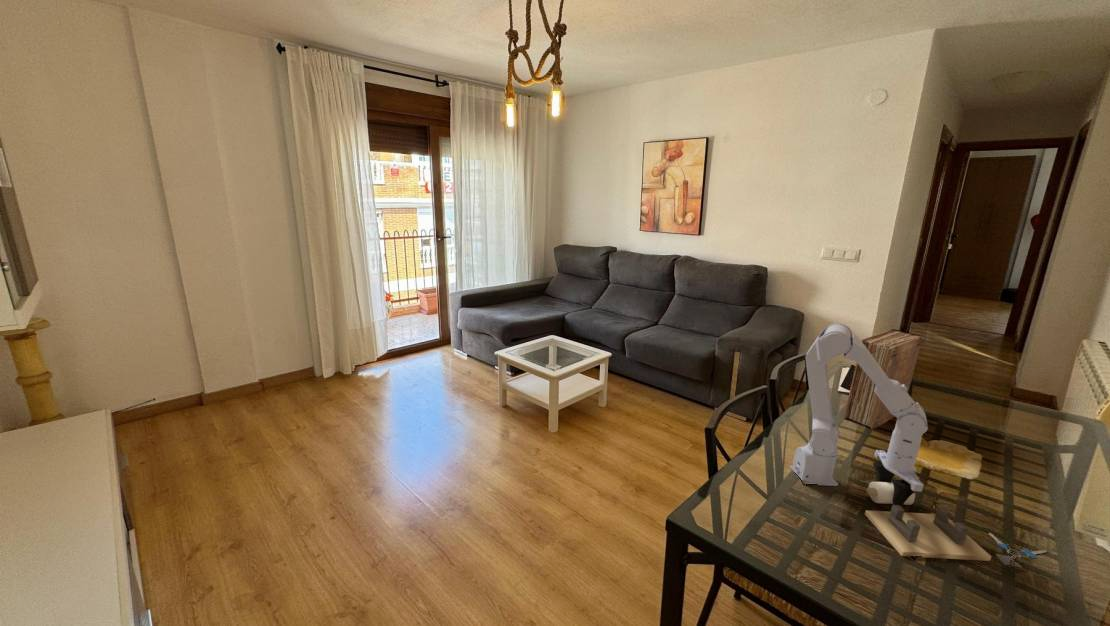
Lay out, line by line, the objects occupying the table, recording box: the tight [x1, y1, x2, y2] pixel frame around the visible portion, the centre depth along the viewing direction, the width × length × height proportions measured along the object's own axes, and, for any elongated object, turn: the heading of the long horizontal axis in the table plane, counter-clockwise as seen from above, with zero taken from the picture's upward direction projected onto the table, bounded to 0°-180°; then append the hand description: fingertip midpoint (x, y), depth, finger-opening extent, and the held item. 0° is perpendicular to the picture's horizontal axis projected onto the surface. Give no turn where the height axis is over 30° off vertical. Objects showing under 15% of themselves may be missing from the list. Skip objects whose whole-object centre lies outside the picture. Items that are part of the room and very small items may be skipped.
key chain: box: [988, 532, 1048, 569], centre depth 101 cm, size 14×8×1 cm, turn 114°
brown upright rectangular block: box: [843, 328, 924, 431], centre depth 156 cm, size 25×9×30 cm, turn 123°
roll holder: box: [864, 504, 992, 562], centre depth 103 cm, size 19×13×6 cm
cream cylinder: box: [866, 481, 916, 506], centre depth 115 cm, size 11×5×5 cm, turn 87°
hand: (889, 496), depth 115 cm, fingers closed on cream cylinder, 5 cm apart
